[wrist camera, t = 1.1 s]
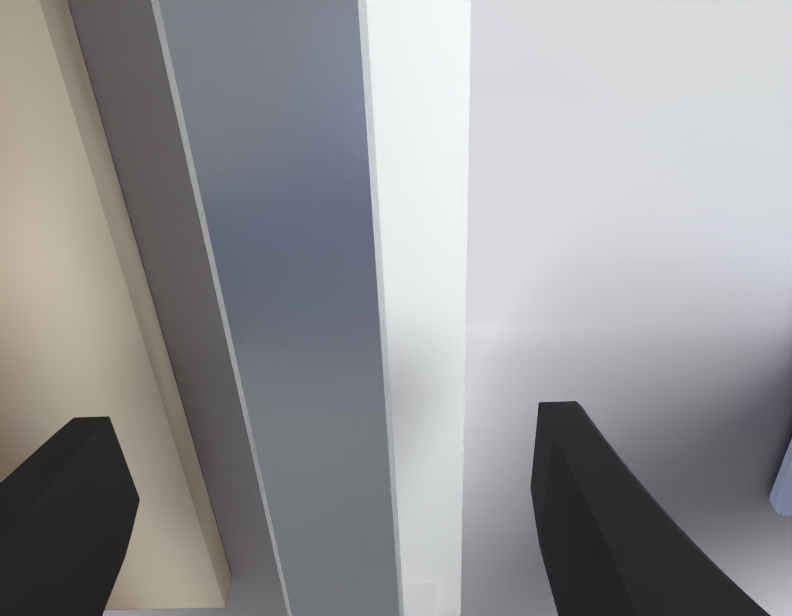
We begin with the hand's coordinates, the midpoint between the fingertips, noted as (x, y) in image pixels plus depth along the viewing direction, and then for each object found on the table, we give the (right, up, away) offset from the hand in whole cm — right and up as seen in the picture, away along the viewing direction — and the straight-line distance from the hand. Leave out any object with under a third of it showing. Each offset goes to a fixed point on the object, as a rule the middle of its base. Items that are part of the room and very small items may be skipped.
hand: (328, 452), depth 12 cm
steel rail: (0, 0, +1) cm, 1 cm away
